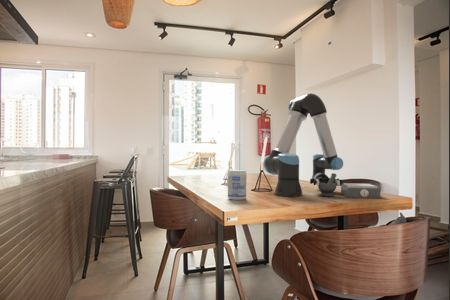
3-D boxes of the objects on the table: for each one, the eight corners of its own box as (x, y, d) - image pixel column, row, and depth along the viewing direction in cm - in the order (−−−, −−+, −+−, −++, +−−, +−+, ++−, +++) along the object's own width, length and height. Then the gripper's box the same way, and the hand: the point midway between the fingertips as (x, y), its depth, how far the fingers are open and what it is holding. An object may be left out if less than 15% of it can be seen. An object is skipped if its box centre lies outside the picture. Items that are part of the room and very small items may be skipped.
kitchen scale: (348, 197, 149) (348, 186, 149) (340, 193, 166) (340, 183, 166) (380, 198, 147) (380, 186, 147) (369, 193, 163) (369, 183, 163)
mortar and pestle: (326, 196, 149) (326, 174, 149) (314, 194, 158) (314, 173, 158) (342, 195, 153) (342, 173, 154) (329, 193, 162) (329, 172, 162)
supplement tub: (232, 200, 139) (232, 171, 139) (224, 198, 147) (224, 170, 147) (249, 199, 143) (249, 170, 143) (241, 196, 151) (241, 169, 151)
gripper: (340, 186, 172) (350, 190, 150) (302, 185, 175) (307, 189, 153) (340, 173, 172) (350, 176, 150) (302, 173, 175) (307, 175, 153)
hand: (328, 183), depth 152 cm, fingers closed on mortar and pestle, 10 cm apart
